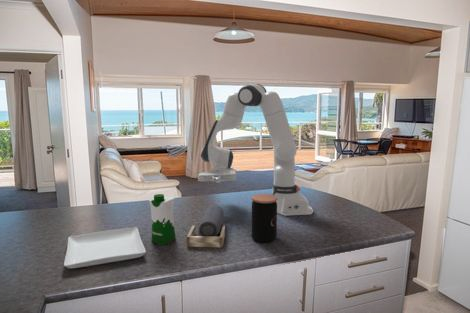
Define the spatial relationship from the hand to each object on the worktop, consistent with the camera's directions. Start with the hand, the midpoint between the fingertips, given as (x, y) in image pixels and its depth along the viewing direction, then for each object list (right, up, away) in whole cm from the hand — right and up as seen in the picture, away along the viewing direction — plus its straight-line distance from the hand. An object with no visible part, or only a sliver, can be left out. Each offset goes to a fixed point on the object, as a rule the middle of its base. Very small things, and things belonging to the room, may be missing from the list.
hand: (215, 179), depth 165 cm
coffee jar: (+22, -23, -27) cm, 42 cm away
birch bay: (-2, -23, -29) cm, 37 cm away
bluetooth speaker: (0, -22, -21) cm, 30 cm away
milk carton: (-20, -23, -29) cm, 42 cm away
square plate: (-41, -26, -39) cm, 62 cm away
